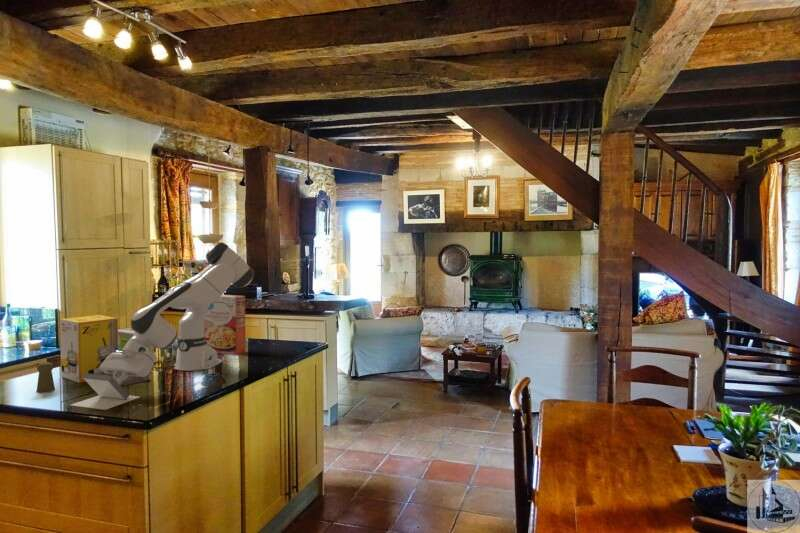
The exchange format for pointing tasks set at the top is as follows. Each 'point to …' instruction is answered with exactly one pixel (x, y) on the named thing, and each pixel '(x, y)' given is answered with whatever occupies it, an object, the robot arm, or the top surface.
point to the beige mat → (102, 402)
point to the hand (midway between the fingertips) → (115, 383)
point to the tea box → (124, 337)
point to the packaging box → (86, 344)
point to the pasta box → (226, 324)
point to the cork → (45, 378)
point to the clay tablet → (129, 379)
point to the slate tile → (105, 386)
